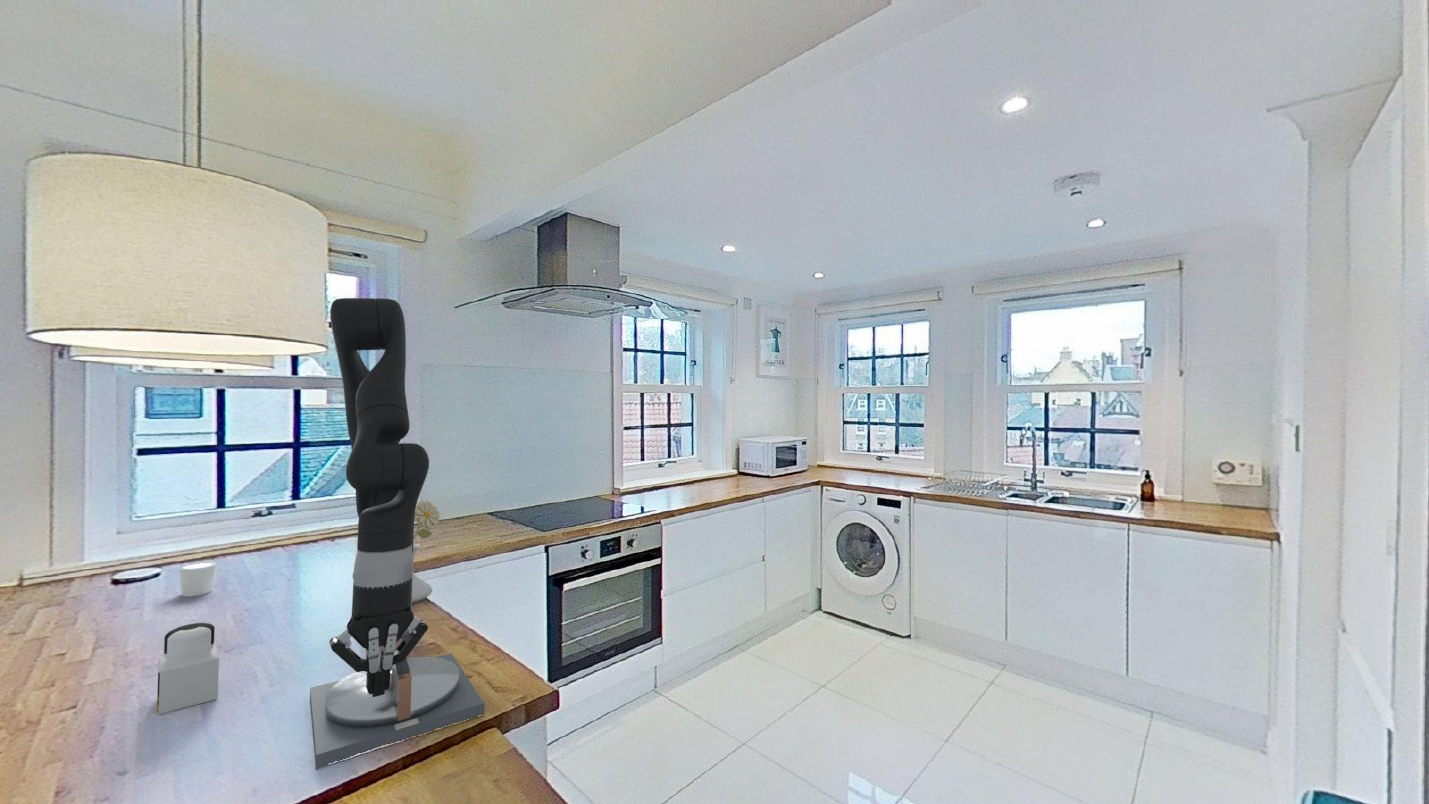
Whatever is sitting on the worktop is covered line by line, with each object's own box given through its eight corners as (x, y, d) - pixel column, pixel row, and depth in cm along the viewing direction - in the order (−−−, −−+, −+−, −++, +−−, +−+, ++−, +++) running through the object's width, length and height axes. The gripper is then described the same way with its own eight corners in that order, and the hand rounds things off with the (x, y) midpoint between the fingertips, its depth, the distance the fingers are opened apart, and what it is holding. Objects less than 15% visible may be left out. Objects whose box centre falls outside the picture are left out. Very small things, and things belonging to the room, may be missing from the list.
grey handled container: (158, 698, 91) (160, 626, 91) (215, 683, 96) (218, 615, 96) (156, 716, 86) (159, 640, 86) (217, 699, 91) (220, 628, 91)
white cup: (207, 595, 138) (208, 568, 138) (172, 598, 135) (173, 570, 136) (220, 587, 144) (221, 560, 144) (187, 589, 142) (187, 563, 142)
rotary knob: (325, 683, 92) (326, 639, 92) (448, 655, 103) (449, 616, 103) (324, 752, 74) (325, 697, 74) (473, 709, 85) (474, 661, 85)
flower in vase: (392, 611, 130) (395, 507, 130) (373, 600, 137) (376, 502, 137) (447, 597, 140) (449, 501, 141) (426, 587, 147) (428, 496, 148)
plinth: (309, 699, 91) (310, 686, 91) (451, 663, 105) (451, 652, 105) (315, 769, 74) (316, 753, 74) (484, 715, 88) (484, 701, 88)
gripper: (332, 592, 74) (326, 721, 73) (438, 576, 82) (433, 690, 82) (326, 578, 79) (320, 697, 79) (426, 564, 88) (420, 671, 88)
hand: (377, 693), depth 80 cm, fingers closed
